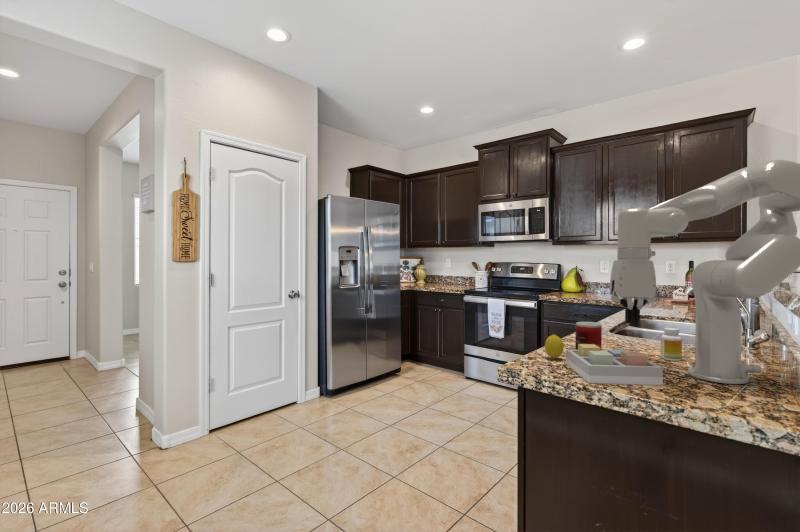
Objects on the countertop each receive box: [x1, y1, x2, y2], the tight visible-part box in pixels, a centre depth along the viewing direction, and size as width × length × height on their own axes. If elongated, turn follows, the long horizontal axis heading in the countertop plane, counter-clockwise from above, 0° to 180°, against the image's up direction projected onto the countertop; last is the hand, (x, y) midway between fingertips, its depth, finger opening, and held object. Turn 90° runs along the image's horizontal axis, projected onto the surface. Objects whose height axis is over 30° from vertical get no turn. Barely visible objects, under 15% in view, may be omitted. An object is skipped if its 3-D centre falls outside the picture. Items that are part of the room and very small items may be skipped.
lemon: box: [544, 333, 564, 360], centre depth 123 cm, size 6×6×8 cm
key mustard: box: [578, 344, 600, 357], centre depth 112 cm, size 5×5×3 cm
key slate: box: [607, 349, 626, 357], centre depth 111 cm, size 5×5×3 cm
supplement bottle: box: [660, 327, 683, 362], centre depth 122 cm, size 5×5×10 cm
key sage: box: [589, 351, 613, 365], centre depth 103 cm, size 5×5×3 cm
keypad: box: [566, 349, 664, 386], centre depth 107 cm, size 18×18×4 cm
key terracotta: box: [621, 350, 648, 366], centre depth 103 cm, size 5×5×3 cm
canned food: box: [575, 321, 603, 350], centre depth 126 cm, size 8×8×11 cm
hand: (632, 323), depth 102 cm, fingers closed
